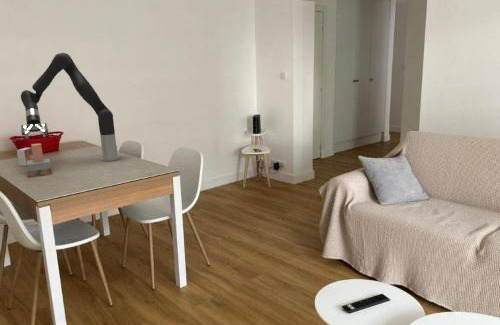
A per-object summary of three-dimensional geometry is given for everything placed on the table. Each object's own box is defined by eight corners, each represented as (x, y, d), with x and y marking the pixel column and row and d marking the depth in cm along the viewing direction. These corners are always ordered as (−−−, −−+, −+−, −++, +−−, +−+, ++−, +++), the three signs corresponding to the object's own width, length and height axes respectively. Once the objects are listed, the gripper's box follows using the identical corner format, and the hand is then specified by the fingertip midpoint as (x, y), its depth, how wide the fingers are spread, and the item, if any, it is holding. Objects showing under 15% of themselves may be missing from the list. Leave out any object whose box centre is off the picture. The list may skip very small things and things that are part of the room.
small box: (26, 166, 271) (23, 150, 269) (18, 165, 272) (16, 149, 270) (35, 163, 279) (32, 147, 277) (27, 163, 280) (25, 147, 278)
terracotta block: (43, 159, 252) (40, 143, 250) (43, 161, 248) (41, 144, 245) (33, 160, 250) (31, 144, 247) (34, 162, 245) (31, 145, 243)
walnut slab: (51, 170, 258) (50, 164, 257) (51, 175, 248) (51, 168, 247) (29, 173, 253) (28, 167, 252) (29, 178, 242) (28, 171, 242)
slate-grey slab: (49, 164, 257) (48, 158, 256) (51, 168, 247) (50, 161, 246) (27, 167, 252) (26, 160, 251) (28, 171, 241) (27, 164, 240)
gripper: (19, 114, 251) (21, 136, 244) (45, 112, 257) (48, 133, 250) (20, 122, 257) (23, 144, 249) (46, 120, 263) (49, 141, 256)
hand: (36, 139), depth 250 cm, fingers open, 8 cm apart
